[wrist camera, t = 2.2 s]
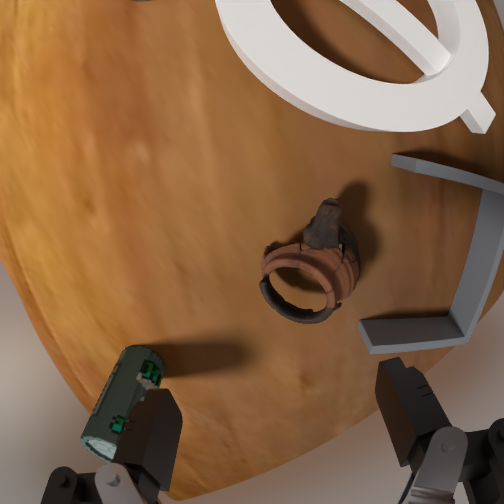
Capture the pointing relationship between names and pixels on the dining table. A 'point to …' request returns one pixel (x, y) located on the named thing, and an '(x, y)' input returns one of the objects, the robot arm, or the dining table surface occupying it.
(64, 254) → the dining table surface
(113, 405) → the can
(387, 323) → the box
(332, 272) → the pottery mug
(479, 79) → the white circle with bar
